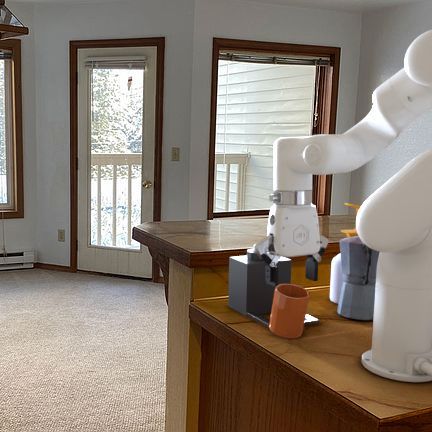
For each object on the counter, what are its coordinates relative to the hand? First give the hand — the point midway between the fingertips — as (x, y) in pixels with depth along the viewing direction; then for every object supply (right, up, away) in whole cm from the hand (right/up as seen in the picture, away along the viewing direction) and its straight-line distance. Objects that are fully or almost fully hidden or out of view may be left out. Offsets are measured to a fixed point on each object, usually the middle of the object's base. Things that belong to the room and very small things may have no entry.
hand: (292, 282), depth 113 cm
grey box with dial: (-3, -9, +19) cm, 21 cm away
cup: (-1, -10, +2) cm, 11 cm away
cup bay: (0, -10, +11) cm, 14 cm away
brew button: (-3, +5, +17) cm, 18 cm away
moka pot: (+19, -10, +13) cm, 25 cm away
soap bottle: (+21, -8, +24) cm, 33 cm away
